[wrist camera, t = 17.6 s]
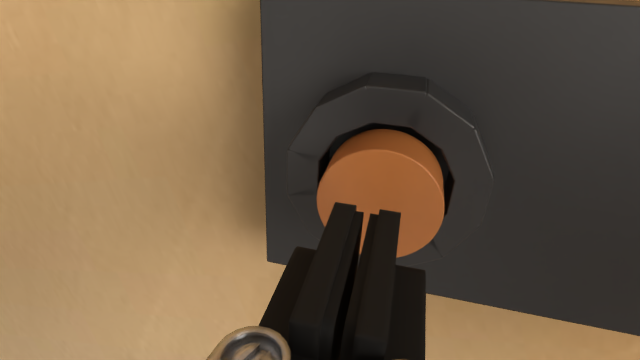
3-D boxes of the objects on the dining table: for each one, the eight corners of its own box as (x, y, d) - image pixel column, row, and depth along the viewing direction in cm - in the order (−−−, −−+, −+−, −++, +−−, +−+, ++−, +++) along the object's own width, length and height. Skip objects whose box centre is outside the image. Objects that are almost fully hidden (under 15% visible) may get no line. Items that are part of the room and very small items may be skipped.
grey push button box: (769, 8, 13) (917, 28, 9) (616, 290, 18) (665, 377, 15) (284, -21, 16) (236, -16, 12) (284, 229, 21) (252, 288, 18)
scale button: (454, 136, 13) (457, 160, 11) (431, 237, 15) (431, 269, 13) (330, 121, 13) (318, 141, 12) (325, 219, 15) (313, 247, 14)
